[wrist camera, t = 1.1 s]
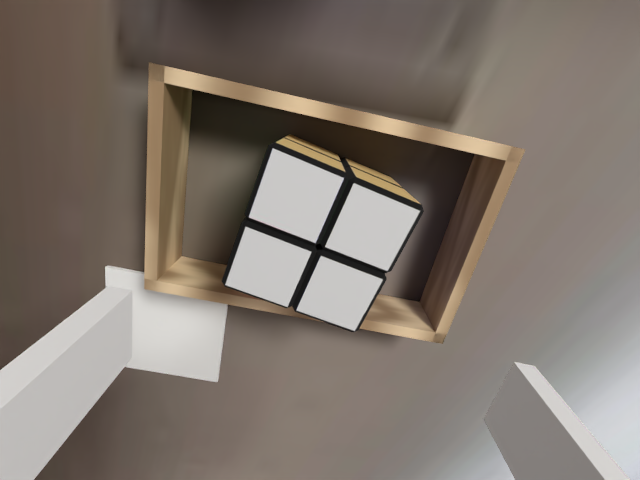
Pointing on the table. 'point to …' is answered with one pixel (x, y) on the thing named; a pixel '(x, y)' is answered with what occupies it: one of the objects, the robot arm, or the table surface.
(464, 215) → the wooden frame
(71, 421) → the robot arm
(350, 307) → the puzzle cube
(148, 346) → the pad
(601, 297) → the table surface
